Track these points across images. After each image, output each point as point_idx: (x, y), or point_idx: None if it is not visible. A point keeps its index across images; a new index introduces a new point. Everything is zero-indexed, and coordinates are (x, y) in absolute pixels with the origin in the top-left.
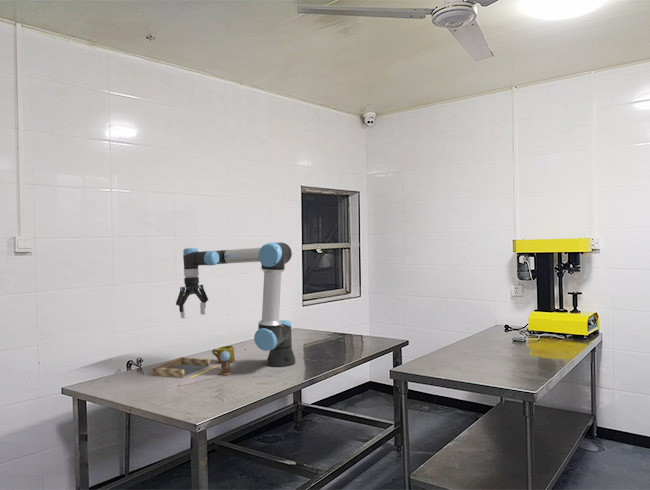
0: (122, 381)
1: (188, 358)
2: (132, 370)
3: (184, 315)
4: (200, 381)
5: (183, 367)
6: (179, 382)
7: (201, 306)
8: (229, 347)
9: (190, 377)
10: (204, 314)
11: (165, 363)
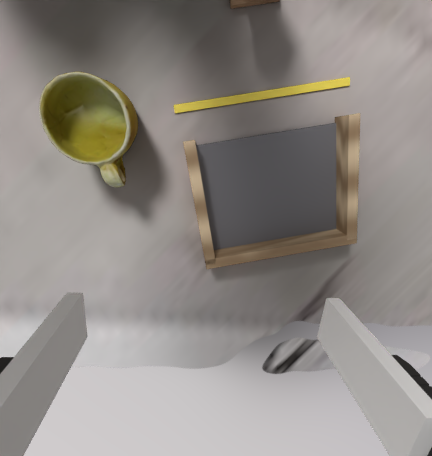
0: (419, 256)
1: (209, 232)
2: None
3: (349, 315)
4: (371, 2)
5: (249, 208)
6: (397, 77)
7: (37, 403)
8: (50, 123)
9: (341, 83)
10: (75, 293)
11: (296, 250)
